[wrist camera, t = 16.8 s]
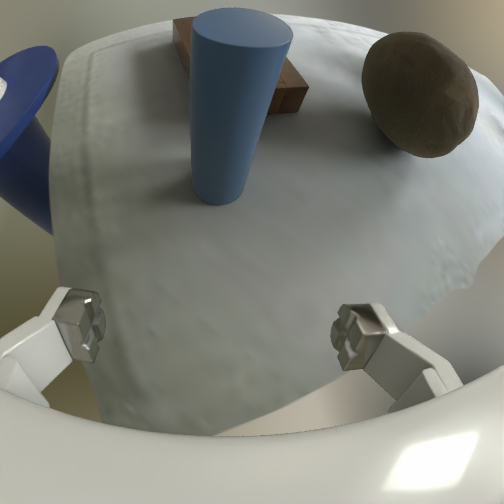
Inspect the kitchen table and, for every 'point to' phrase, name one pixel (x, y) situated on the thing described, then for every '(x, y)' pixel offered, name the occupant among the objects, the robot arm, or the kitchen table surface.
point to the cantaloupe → (420, 93)
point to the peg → (231, 94)
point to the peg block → (288, 85)
